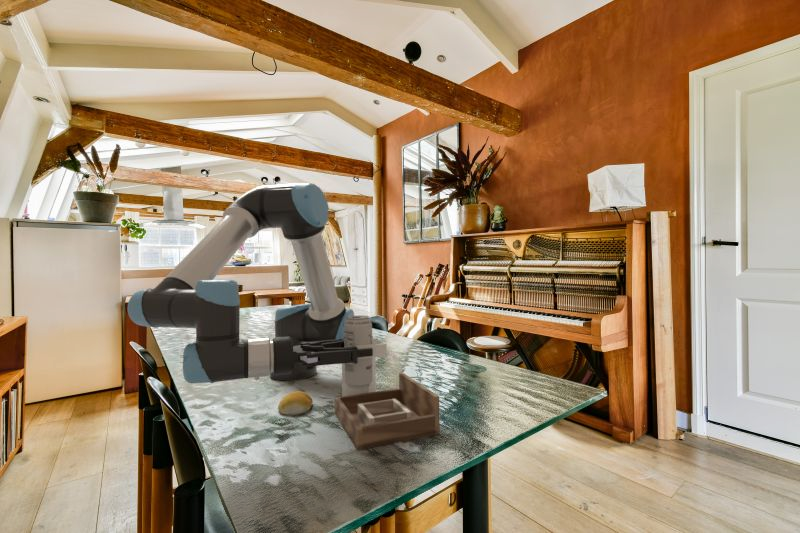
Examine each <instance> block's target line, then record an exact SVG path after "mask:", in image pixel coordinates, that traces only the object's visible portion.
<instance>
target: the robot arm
mask: <svg viewBox="0 0 800 533" xmlns="http://www.w3.org/2000/svg"><path fill="white" fill-rule="evenodd" d="M329 210H330V209H329V203H328V200H327V197H326V195H325V193H324V191H323V190H322V188H320V187H319V186H318V185H317V184H316V183H315V184H314V183H311V182H310V183H309V182H295V183H294V182H292V183H283V184H282V183H281V184H267V185H266V184H265V185H260V186H257V187H255V188H253V189H251V190H249V191H246V192H244V193H243V195H241V196H240V197H237V199H235V200H234V201H233V202H232V203H230V204H229V206H227V208H226V209H224V211H223V213H222V219H221V220H220V221H219V222H218V223H217V224H216V225H215V226H214V227H213V228H212V229H211V230H210V231H209V232H208V233H207V234H206V235H205V236H204V237H203V238H202V239H201V240H200V241H199V242H198V243H197V244H196V245H195V246H194V247H193V248H192V249H191V251H190V252H189V253H188V254H186V255H185V257H183V259H182V260H181V261H180V262H179V263H178V264H177V265H176V266H175V267H174V268H173V269H172V270H171V271H169V273H168V274H167V275H166V276H165V277H164V278H163V279H162V280H161V281H159V283H158V284H157V285H156V286H155V287H154V288H146V289H141V290H138V291H136V292H135V293H134V294H132V296H131V297H130V298H129V300H128V303H127V313H128V316H129V318H130V320H131V321H132V322H133V323H134V324H136V325H138V326H140V327H147V328H148V327H149V328H154V329H158V328H175V329H176V328H178V329H179V328H181V329H195V335H196V336H195V341H194V342H193V343H191V342H190V343H188V344H186V345H185V347H184V349H183V354H182V357H183V358H182V374H183V375H182V376H183V378H184V381H185V382H187V383H188V384H204V383H207V384H208V383H210V384H213V383H219V382H227V381H234V380H242V379H249V378H252V379H253V380H255V381H258V380H259V379H260V378H262V377H270V378H271V379H274V380H277V381H296V380H303V379H307V378H310V377H313V376H315V375H316V374H317V372H318V371H317V370H318V369H317V367H319V366H329V365H339V364H341V365H342V363H354V364H357V363H358V359H366V358H382V357H383V358H384V357H387V356H388V355H387V343H385V342H381V343H378V338H376V337H373V338H372V344H370V345H358V346H356V347H345V343H344V325H345V323H346V321H347V317H348V316H355V312H354V310H353V309H351V308H347V307H346V305H345V302H344V301H343V300H342V299H341V298H339V297H338V292H337V289H336V286H335V281H334V278H333V273H332V270H331V267H330V263H329V259H328V255H327V251H326V247H325V243H324V240H323V236H322V233H323V232H324V230H325V228H326V226H325V225H326V224H327V223H328V222H329V219H330V218H329V217H330V215H329V214H330V213H329ZM275 228H277V229H278V228H279V229H281V232H282V235H283V237H284V238H285V240H288V241H290V242H291V245H292V247H293V248H292V249H293V251H294V255H295V258H296V262H297V264H298V267H299V272H300V274H301V277H302V281H303V284H304V287H305V291H306V294H307V297H308V300H309V303H301V304H296V305H295V304H294V305H290V306H289V305H288V306H284V307H283V306H281V307H279V308H277V309H276V310H275V312H274V313H275V314H274V316H275V317H274V336H275V337H274V338H272V340H271V339H270V337H258V338H248V339H247V338H246V339H240V307H241V306H240V305H241V299H240V293H239V284H238V282H237V281H236V280H234V279H215V278H216V277H217V275H218V274H219V273H221V271H222V270H223V268H224V267H225V266H226V264H228V262H229V261H230V260H231V258H233V256H235V254H236V253H237V251H238V250H239V249H240V248H241V247H242V245H244V243H245V242H246V241H247V240H248V239H250V238H252V237H255V236H256V235H257V234H258V233H259V232H260V231H262V230H265V229H266V230H267V229H275ZM350 354H351V357H350Z"/></svg>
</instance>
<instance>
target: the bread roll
mask: <svg viewBox="0 0 800 533" xmlns="http://www.w3.org/2000/svg"><path fill="white" fill-rule="evenodd" d="M312 404H313V398H312V397H311V395H310V394H309V393H307V392H304V391H294V392H291V393H288V394H287V395H285V396H283V397H282V398H281V399H280V401H279V404H277V405H278V406H277V409H278V412H279V413H280V414H283V415H290V416H291V415H292V416H293V415H302V414H304V413H306V412H308V411H309V410H310V409H311V408H312Z"/></svg>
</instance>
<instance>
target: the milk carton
mask: <svg viewBox="0 0 800 533" xmlns="http://www.w3.org/2000/svg"><path fill="white" fill-rule="evenodd" d="M372 338H374V336H373V334H372ZM376 358H377V357H376ZM376 358H372V382H371V383H370V386H369V387H367V388H363V389H351V388H349V387H348V386H347V384H346V383H345V363H342V364H341V388H342V389H341V393H342V394H341V396H348V395H356V394H363V393H370V392H377V390H376V388H377V387H376V386H377V382H376V381H377V380H376V378H377V377H376V368H377V367H376V366H377V365H376Z"/></svg>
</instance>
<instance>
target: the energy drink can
mask: <svg viewBox="0 0 800 533" xmlns="http://www.w3.org/2000/svg"><path fill="white" fill-rule="evenodd" d="M372 335H373V324H372V321H371V320H370V316H369V315H361V314H360V315H354V316H348V317H347V321H346V323H345V325H344V343H345V347H356V346H358V345H370V344H372ZM350 357H351V354H350ZM371 382H372V358H366V359H358V363H357V364H354V363H345V383H346V384H347V386H348V387H349V388H351V389H363V388H367V387H369V386H370V383H371Z"/></svg>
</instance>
